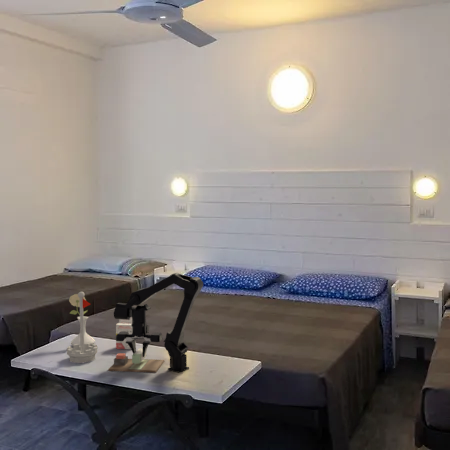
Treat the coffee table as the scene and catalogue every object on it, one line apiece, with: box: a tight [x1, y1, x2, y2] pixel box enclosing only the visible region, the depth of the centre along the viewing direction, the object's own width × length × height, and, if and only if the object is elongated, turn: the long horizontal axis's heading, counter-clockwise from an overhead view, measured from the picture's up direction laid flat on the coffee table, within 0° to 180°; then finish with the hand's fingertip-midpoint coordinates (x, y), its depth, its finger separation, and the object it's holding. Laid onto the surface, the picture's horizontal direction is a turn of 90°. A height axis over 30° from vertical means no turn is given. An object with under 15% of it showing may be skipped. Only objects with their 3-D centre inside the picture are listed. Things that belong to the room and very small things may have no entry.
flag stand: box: [66, 291, 98, 364], centre depth 247 cm, size 13×13×30 cm
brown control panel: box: [107, 355, 165, 373], centre depth 237 cm, size 20×15×3 cm
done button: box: [115, 352, 127, 359], centre depth 238 cm, size 3×3×2 cm
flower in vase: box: [68, 293, 96, 347], centre depth 269 cm, size 13×11×25 cm
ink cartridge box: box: [115, 317, 137, 350], centre depth 266 cm, size 9×5×15 cm, turn 84°
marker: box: [131, 347, 148, 363], centre depth 237 cm, size 11×3×3 cm, turn 173°
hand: (139, 356), depth 237 cm, fingers closed on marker, 3 cm apart
